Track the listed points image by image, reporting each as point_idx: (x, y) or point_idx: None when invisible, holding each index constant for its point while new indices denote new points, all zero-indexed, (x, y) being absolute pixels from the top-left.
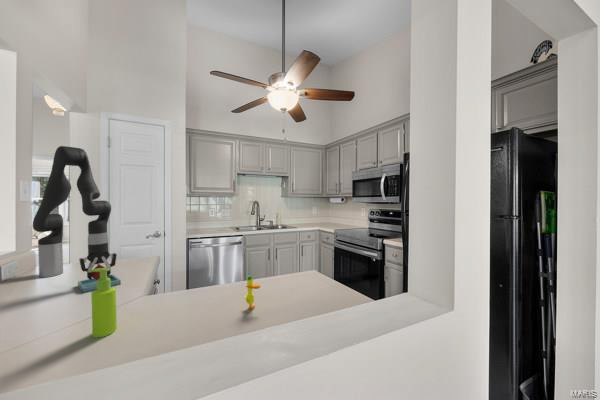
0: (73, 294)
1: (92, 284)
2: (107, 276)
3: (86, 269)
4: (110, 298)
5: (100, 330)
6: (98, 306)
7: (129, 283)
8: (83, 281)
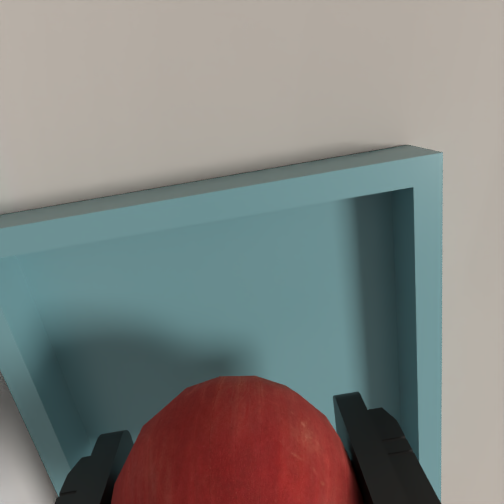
0: (25, 496)
1: (161, 340)
2: (350, 192)
3: None
4: None
5: None
6: None
7: (484, 480)
8: (27, 249)
